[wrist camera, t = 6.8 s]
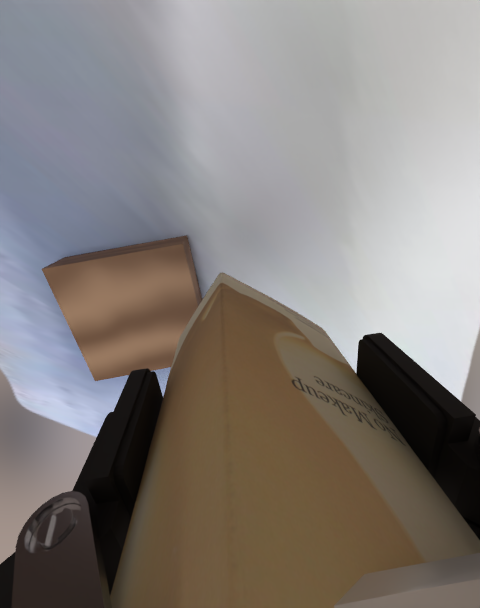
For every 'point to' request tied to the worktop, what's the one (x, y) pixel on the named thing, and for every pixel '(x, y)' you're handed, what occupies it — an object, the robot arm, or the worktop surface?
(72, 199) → the worktop surface
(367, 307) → the worktop surface
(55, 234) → the worktop surface
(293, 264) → the worktop surface
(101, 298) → the walnut block
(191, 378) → the skincare box
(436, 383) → the robot arm
